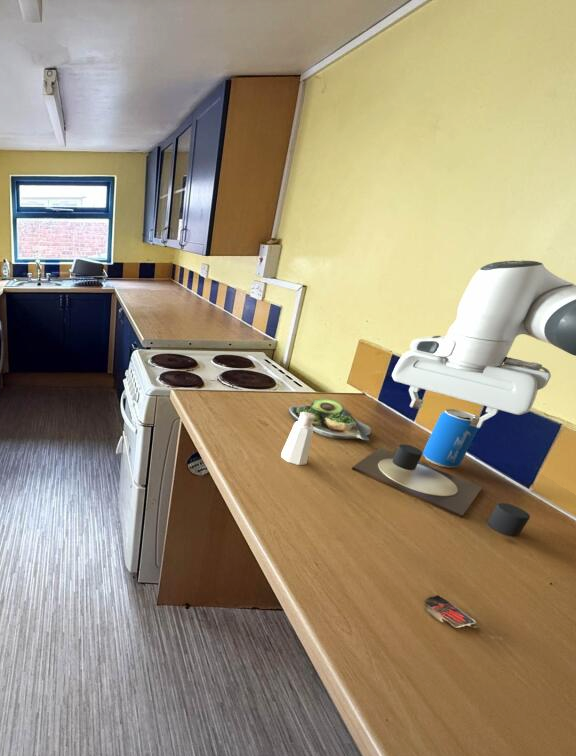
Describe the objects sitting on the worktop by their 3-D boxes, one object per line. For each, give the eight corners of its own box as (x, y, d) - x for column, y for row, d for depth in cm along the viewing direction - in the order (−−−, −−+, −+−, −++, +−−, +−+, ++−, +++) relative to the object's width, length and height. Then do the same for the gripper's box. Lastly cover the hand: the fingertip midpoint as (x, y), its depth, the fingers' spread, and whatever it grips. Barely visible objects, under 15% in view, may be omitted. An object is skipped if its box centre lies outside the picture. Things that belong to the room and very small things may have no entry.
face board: (481, 489, 82) (483, 486, 82) (461, 518, 73) (463, 514, 73) (379, 449, 95) (380, 446, 95) (351, 469, 87) (352, 466, 86)
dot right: (520, 530, 71) (532, 512, 69) (516, 539, 69) (528, 521, 67) (489, 517, 74) (500, 499, 72) (485, 525, 72) (495, 507, 70)
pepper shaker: (275, 456, 90) (289, 412, 85) (287, 449, 93) (300, 406, 89) (300, 468, 86) (315, 422, 82) (311, 460, 89) (327, 416, 85)
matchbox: (433, 593, 57) (434, 591, 57) (480, 624, 53) (482, 621, 53) (417, 606, 55) (418, 603, 55) (465, 639, 51) (467, 636, 51)
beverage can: (430, 466, 90) (452, 418, 85) (415, 451, 95) (436, 406, 91) (464, 472, 88) (490, 423, 83) (448, 457, 94) (471, 411, 89)
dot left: (417, 466, 88) (425, 450, 86) (411, 472, 85) (419, 456, 84) (395, 457, 91) (402, 442, 89) (389, 463, 88) (396, 447, 87)
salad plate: (394, 445, 98) (402, 429, 96) (329, 447, 95) (335, 430, 93) (335, 410, 115) (340, 395, 113) (278, 410, 113) (282, 395, 111)
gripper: (558, 364, 69) (520, 434, 74) (413, 335, 84) (390, 395, 90) (553, 370, 66) (513, 443, 71) (402, 339, 81) (379, 401, 86)
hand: (443, 416), depth 80 cm, fingers open, 8 cm apart
